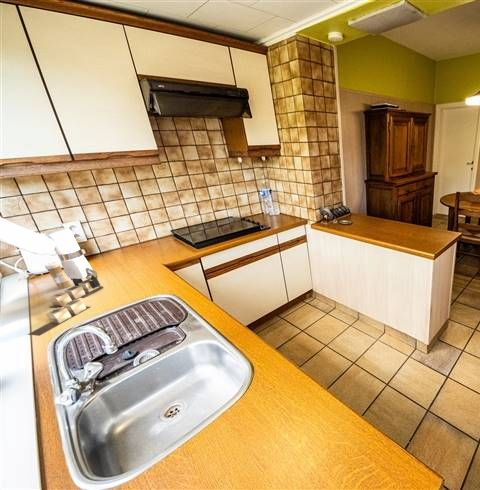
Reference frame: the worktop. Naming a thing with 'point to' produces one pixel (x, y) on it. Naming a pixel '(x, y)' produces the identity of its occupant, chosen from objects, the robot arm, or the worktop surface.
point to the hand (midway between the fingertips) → (88, 286)
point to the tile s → (86, 286)
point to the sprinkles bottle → (58, 275)
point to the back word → (70, 295)
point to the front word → (61, 315)
